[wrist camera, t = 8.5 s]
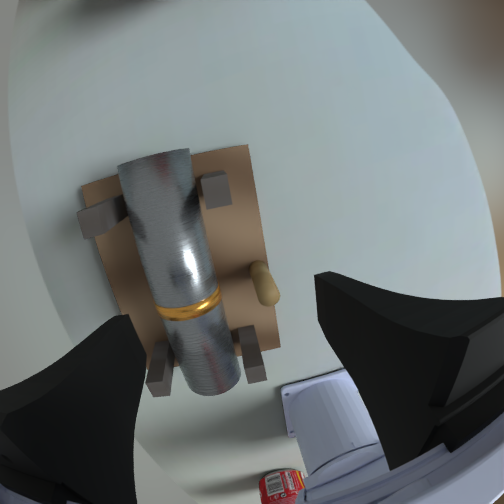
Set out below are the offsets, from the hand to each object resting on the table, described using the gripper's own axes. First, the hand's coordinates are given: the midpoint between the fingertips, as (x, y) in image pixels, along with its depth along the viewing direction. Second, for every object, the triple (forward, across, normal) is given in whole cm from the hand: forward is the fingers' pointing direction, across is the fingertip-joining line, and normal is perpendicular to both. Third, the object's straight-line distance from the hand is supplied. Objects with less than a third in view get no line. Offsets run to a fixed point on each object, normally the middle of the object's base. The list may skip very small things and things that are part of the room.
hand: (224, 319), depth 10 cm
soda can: (+10, 0, +36) cm, 38 cm away
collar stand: (+9, +3, +1) cm, 10 cm away
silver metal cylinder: (+8, +3, +1) cm, 9 cm away
